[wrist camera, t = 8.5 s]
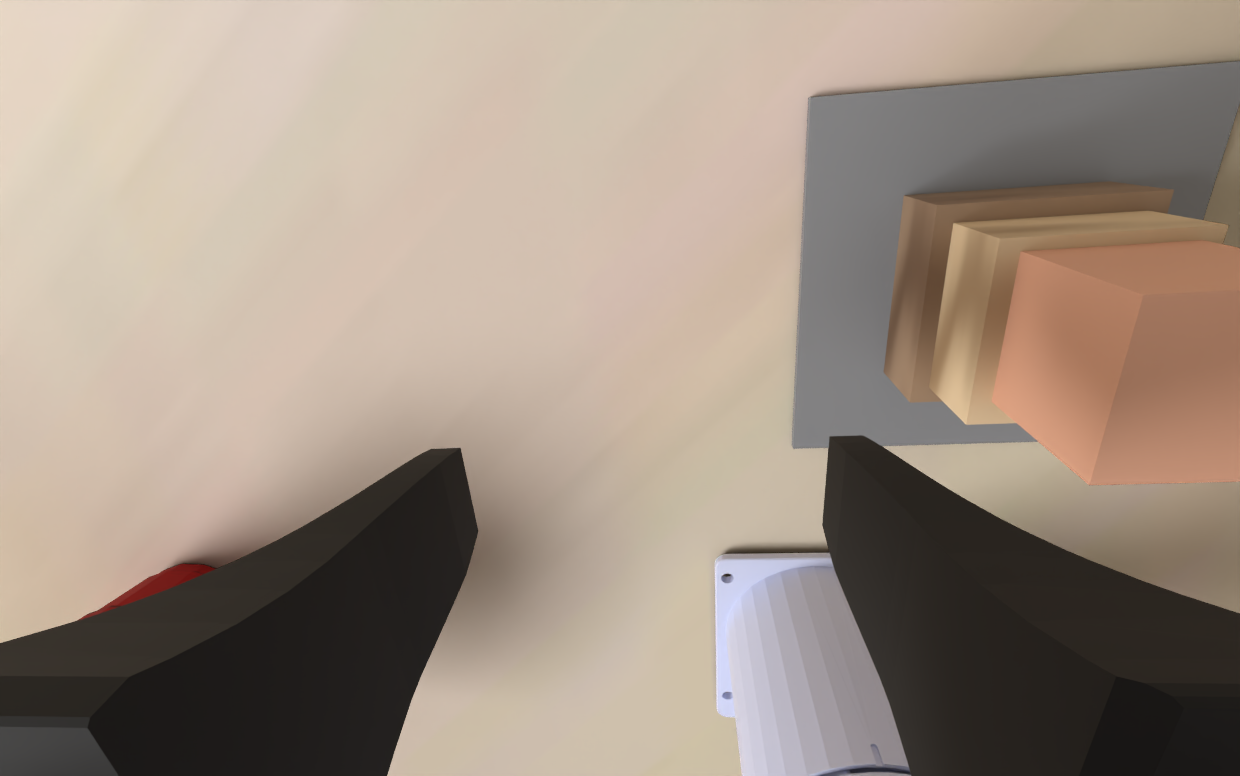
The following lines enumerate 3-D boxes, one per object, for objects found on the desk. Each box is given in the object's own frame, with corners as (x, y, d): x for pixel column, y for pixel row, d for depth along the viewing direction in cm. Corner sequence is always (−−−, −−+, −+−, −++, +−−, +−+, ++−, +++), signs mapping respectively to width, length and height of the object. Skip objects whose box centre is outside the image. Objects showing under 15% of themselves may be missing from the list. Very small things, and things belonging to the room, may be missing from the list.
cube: (1202, 239, 14) (1394, 281, 10) (1153, 395, 15) (1304, 480, 12) (1020, 251, 14) (1143, 294, 10) (991, 401, 16) (1089, 484, 12)
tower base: (1064, 365, 20) (1114, 395, 18) (883, 372, 21) (910, 402, 19) (1109, 181, 18) (1173, 189, 16) (903, 195, 18) (937, 205, 16)
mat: (1128, 434, 21) (1134, 438, 21) (791, 444, 23) (793, 448, 22) (1243, 60, 17) (1253, 60, 16) (808, 97, 18) (810, 97, 18)
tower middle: (1101, 381, 18) (1164, 418, 16) (928, 387, 18) (965, 425, 16) (1148, 210, 16) (1229, 224, 14) (953, 222, 16) (999, 238, 14)
